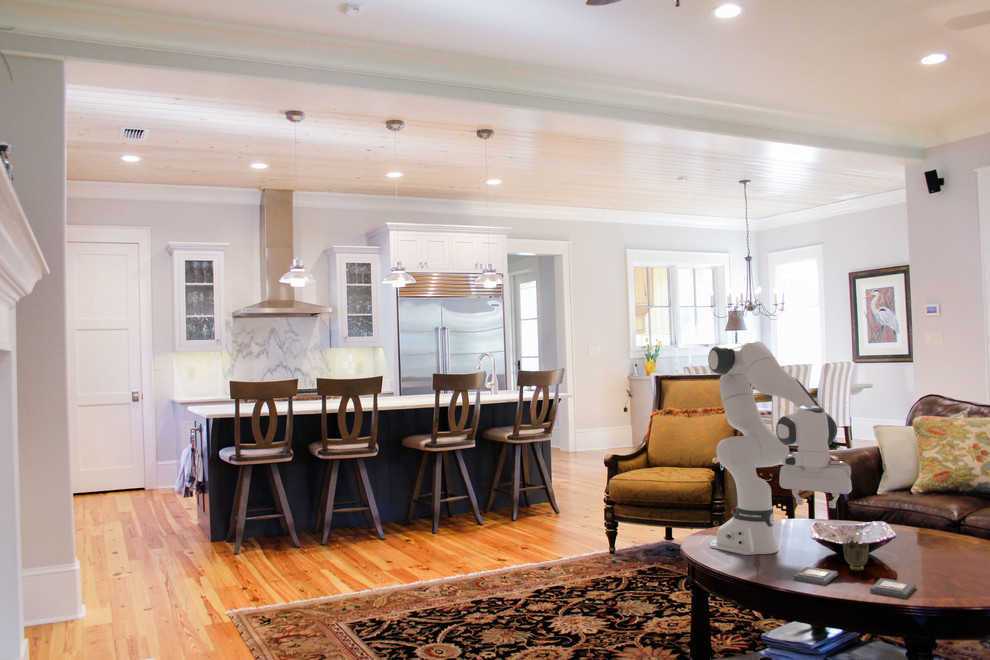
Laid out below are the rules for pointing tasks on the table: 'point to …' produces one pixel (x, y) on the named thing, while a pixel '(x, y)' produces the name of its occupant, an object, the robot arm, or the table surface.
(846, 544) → the cup
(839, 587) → the table surface
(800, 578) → the plates
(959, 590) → the table surface
